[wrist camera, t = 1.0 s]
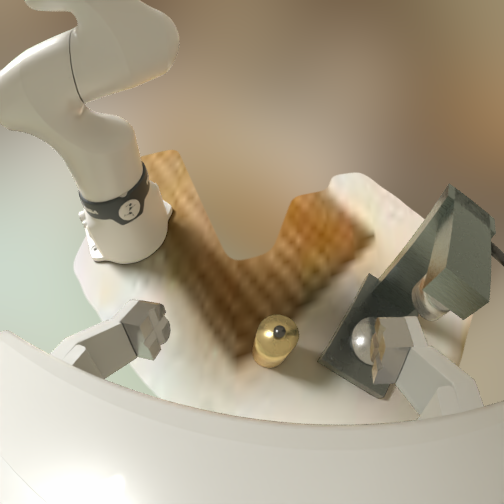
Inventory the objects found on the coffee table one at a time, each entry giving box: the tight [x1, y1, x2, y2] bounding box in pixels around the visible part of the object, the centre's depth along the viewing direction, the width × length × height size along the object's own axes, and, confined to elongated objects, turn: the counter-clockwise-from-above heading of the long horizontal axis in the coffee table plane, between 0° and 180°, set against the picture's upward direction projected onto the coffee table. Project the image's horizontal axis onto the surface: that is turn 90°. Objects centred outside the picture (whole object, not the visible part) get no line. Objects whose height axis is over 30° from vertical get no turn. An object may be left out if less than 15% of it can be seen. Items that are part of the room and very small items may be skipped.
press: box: [317, 184, 504, 398], centre depth 29 cm, size 18×20×25 cm
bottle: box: [252, 315, 299, 368], centre depth 34 cm, size 5×5×10 cm
